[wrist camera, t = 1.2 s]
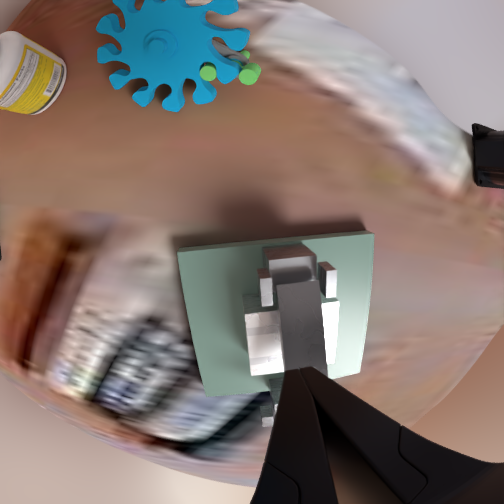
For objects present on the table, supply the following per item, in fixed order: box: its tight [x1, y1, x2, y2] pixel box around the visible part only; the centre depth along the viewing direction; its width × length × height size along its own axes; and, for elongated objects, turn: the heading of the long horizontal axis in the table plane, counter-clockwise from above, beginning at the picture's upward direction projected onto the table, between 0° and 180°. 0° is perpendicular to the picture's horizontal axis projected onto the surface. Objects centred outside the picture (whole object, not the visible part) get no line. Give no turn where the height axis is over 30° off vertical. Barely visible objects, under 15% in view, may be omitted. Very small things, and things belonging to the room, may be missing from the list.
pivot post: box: [257, 243, 337, 307], centre depth 17 cm, size 4×2×6 cm, turn 94°
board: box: [177, 230, 374, 397], centre depth 21 cm, size 14×13×1 cm
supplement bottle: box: [0, 31, 67, 115], centre depth 9 cm, size 5×5×10 cm
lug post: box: [260, 377, 283, 427], centre depth 20 cm, size 4×1×6 cm, turn 94°
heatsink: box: [242, 291, 339, 376], centre depth 19 cm, size 6×5×3 cm
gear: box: [96, 0, 261, 112], centre depth 13 cm, size 11×6×10 cm
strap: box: [274, 280, 328, 376], centre depth 14 cm, size 11×2×2 cm, turn 4°
